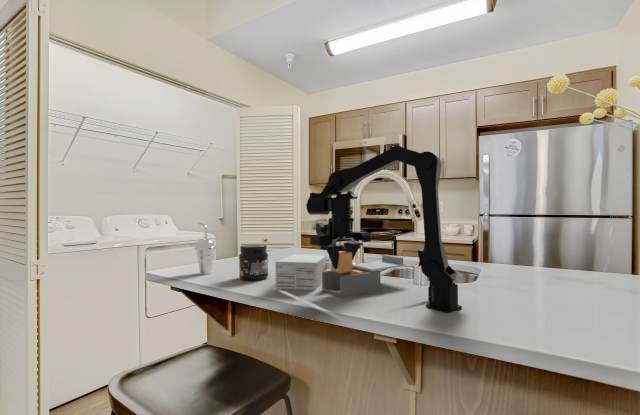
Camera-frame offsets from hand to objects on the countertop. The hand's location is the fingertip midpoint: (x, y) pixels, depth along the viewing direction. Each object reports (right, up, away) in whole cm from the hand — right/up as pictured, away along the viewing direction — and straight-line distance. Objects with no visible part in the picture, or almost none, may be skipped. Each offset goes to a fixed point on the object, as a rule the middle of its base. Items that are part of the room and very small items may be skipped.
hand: (341, 267), depth 99 cm
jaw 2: (+6, -7, +4) cm, 10 cm away
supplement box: (-12, -9, +12) cm, 19 cm away
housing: (+3, -8, +2) cm, 9 cm away
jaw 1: (0, -1, 0) cm, 1 cm away
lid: (+12, -1, +8) cm, 15 cm away
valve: (+5, -8, +21) cm, 23 cm away
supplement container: (-31, -9, +24) cm, 40 cm away
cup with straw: (-52, -9, +34) cm, 63 cm away
